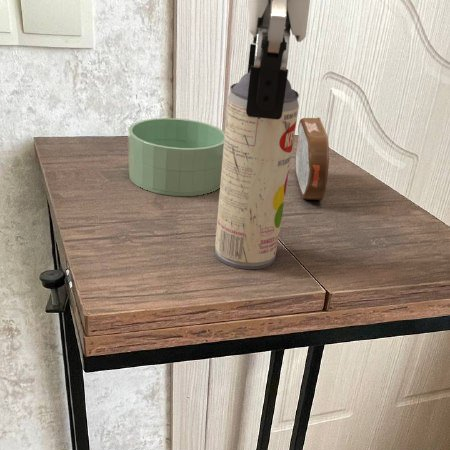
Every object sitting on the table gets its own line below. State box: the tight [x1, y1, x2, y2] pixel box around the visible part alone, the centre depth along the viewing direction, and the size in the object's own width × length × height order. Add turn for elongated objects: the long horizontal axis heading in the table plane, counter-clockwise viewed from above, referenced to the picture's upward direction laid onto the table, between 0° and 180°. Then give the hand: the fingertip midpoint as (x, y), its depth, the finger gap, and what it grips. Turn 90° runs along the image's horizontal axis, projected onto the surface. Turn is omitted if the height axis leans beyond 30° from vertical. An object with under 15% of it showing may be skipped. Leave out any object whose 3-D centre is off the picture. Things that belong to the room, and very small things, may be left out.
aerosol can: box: [214, 56, 300, 270], centre depth 64 cm, size 7×7×20 cm
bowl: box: [127, 117, 225, 197], centre depth 84 cm, size 13×13×6 cm
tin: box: [294, 116, 330, 201], centre depth 85 cm, size 15×3×8 cm, turn 0°
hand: (262, 102), depth 60 cm, fingers open, 9 cm apart
